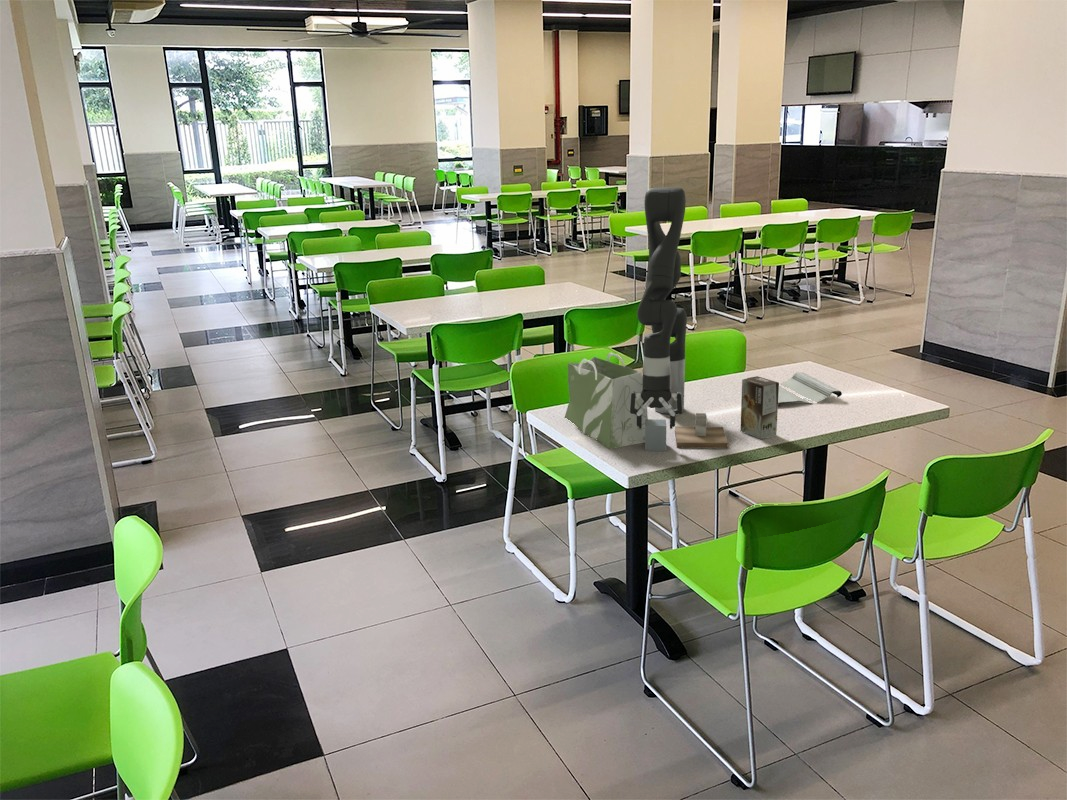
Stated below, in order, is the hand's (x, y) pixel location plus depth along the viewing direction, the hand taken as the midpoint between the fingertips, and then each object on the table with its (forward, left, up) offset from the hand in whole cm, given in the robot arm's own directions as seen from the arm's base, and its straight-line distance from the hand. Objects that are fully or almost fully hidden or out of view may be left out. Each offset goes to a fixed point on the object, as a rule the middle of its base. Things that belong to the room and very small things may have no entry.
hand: (655, 427), depth 230 cm
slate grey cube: (0, 0, -6) cm, 6 cm away
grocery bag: (-15, -15, -6) cm, 22 cm away
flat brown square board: (-7, +13, -6) cm, 16 cm away
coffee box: (-13, +30, -6) cm, 33 cm away
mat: (-53, +46, -7) cm, 71 cm away
